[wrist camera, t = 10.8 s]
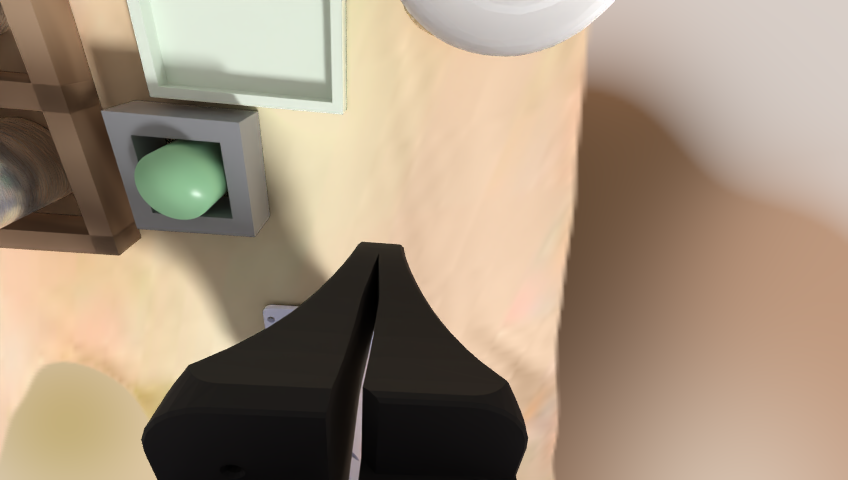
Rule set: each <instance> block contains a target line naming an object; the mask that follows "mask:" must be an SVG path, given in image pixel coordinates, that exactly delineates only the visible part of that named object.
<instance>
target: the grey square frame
mask: <svg viewBox="0 0 848 480" xmlns="http://www.w3.org/2000/svg"><path fill="white" fill-rule="evenodd" d="M101 113H102V116H103V120H104V123H105V126H106V129H107V133H108V136H109V139H110V142H111V145H112V149H113V152H114V155H115V158H116V162H117V165H118V168H119V171H120V175H121V178H122V181H123V184H124V187H125V191H126V194H127V197H128V200H129V204H130V207H131V210H132V213H133V217H134V220H135V223H136V226H137V229H146V230H161V231H175V232H190V233H204V234H219V235H233V236H247V237H255V236H256V235H257V234H258V232H259V231H260V229H261V228H262V227H263V225H264V224H265V222H266V221H267V220H268V218H269V217H270V211H269V202H268V193H267V185H266V176H265V167H264V159H263V150H262V141H261V132H260V124H259V115H258V111H250V110H239V109H228V108H217V107H205V106H194V105H183V104H172V103H161V102H150V101H139V100H135V101H131V102H128V103H125V104H121V105H118V106H115V107H111V108H108V109H105V110H101ZM165 138H172V139H184V140H195V141H207V142H219V143H220V145H221V151H222V157H223V163H224V169H225V175H226V181H227V187H228V193H229V198H228V197H221V198H220V199H219V200H218V201H217V202H216V203H215V204H213V205H212V206H211V207H210V208H209V209H208V210H207V211H206V212H205V213H204V214H202V215H201V216H199V217H197V218H194V219H189V220H180V219H174V218H171V217H168V216H165V215H163V214H161V213H159V212H158V211H156V210H155V209H153V208H152V207H151V206H150V205H149V204H148V203H147V202H146V201H145V200H144V199H143V198H142V196H141V195H140V193H139V191H138V189H137V187H136V184H135V178H134V173H135V168H136V166H137V163H138V162H139V161H140V160H141V159H142V158H143V157H144V156H146V155H147V154H149V153H151V152H153V151H155V150H157V149H159V148H161V147H163V146H165V145H166V140H165Z"/></svg>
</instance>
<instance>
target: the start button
mask: <svg viewBox="0 0 848 480" xmlns="http://www.w3.org/2000/svg"><path fill="white" fill-rule="evenodd" d="M134 178H135V184H136V187H137V189H138V191H139V193H140V195H141V196H142V198H143V199H144V200H145V201H146V202H147V203H148V204H149V205H150V206H151V207H152V208H153V209H155V210H156V211H158V212H159V213H161V214H163V215H165V216H168V217H171V218H174V219H180V220H189V219H194V218H197V217H199V216H201V215H202V214H204V213H205V212H206V211H207V210H208V209H209V208H210V207H211V206H212V205H213V204H215V203H216V202H217V201H218V200H219V199H220V198H221V197H222V196H223V195H224V194H225V193H226V192H227V191H228V187H227V181H226V175H225V169H224V163H223V157H222V151H221V145H220V143H219V142H207V141H195V140H184V139H177V140H175V141H173V142H171V143H169V144H167V145H165V146H163V147H161V148H159V149H157V150H155V151H153V152H151V153H149V154H147V155H146V156H144V157H143V158H142V159H141V160H140V161H139V162H138V163H137V166H136V168H135V173H134Z"/></svg>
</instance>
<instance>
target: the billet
mask: <svg viewBox="0 0 848 480" xmlns="http://www.w3.org/2000/svg"><path fill="white" fill-rule="evenodd" d="M9 28H10V26H9V23H8V21H7V18H6V15H5V13H4V10H3V7H2V5H1V2H0V35H1V34H3V33H4V32H6V31H7V30H8V29H9Z"/></svg>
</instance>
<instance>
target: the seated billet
mask: <svg viewBox="0 0 848 480" xmlns="http://www.w3.org/2000/svg"><path fill="white" fill-rule="evenodd" d="M72 192H73V191H72V188H71V185H70V183H69V180H68V177H67V175H66V172H65V170H64V167H63V164H62V162H61V159H60V157H59V154H58V151H57V149H56V146H55V143H54V141H53V138H52V136H51V133H50V131H49V130H48V129H46V128H45V127H43V126H41V125H39V124H37V123H35V122H33V121H30V120H27V119H23V118H17V117H6V118H0V228H2V227H4V226H6V225H8V224H10V223H12V222H14V221H17V220H19V219H21V218H23V217H25V216H27V215H29V214H31V213H33V212H35V211H37V210H39V209H41V208H43V207H45V206H47V205H49V204H51V203H53V202H55V201H57V200H59V199H61V198H63V197H65V196H67V195H69V194H70V193H72Z"/></svg>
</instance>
